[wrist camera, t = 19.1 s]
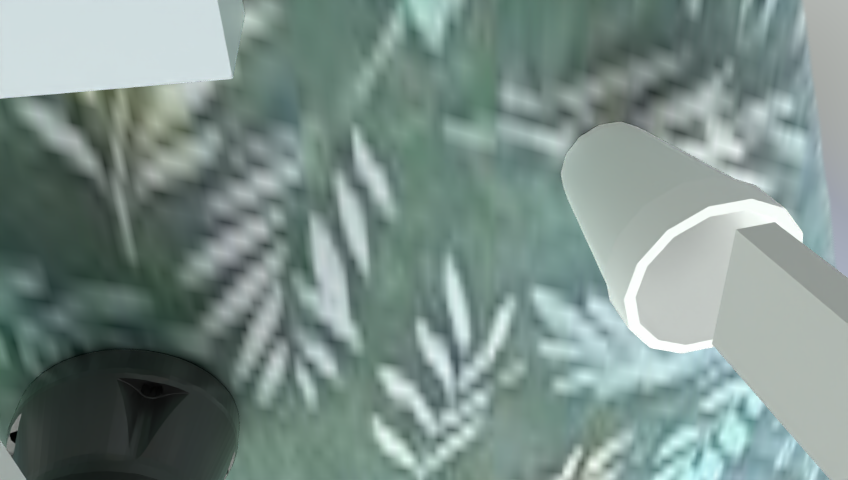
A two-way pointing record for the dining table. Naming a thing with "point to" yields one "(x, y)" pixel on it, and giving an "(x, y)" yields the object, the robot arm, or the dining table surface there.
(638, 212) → the foam cup
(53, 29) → the panel
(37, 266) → the dining table surface
